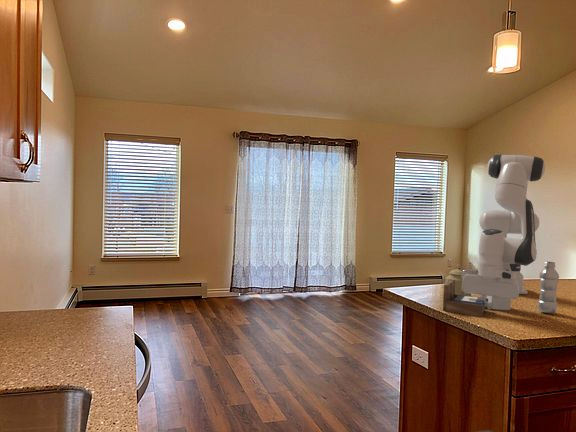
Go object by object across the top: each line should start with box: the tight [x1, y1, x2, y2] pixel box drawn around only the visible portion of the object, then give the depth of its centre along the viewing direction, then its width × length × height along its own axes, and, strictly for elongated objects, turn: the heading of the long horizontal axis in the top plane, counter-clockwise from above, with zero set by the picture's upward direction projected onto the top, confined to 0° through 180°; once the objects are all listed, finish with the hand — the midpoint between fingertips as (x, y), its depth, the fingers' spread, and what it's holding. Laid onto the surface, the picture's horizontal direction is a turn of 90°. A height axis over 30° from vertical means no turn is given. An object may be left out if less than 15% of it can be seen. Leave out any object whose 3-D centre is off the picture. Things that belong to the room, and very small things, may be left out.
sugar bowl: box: [444, 263, 472, 296], centre depth 196 cm, size 15×11×15 cm
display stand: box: [442, 280, 489, 317], centre depth 175 cm, size 15×14×10 cm
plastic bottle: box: [537, 261, 560, 314], centre depth 172 cm, size 6×7×20 cm
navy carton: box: [454, 295, 485, 312], centre depth 173 cm, size 9×10×5 cm
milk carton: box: [486, 262, 512, 311], centre depth 178 cm, size 7×7×19 cm
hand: (488, 307), depth 171 cm, fingers closed
